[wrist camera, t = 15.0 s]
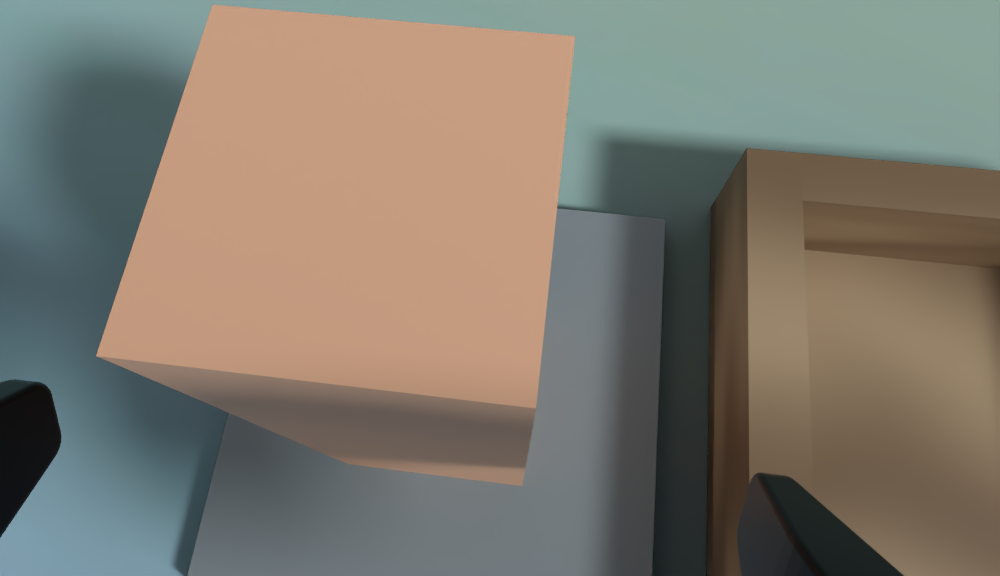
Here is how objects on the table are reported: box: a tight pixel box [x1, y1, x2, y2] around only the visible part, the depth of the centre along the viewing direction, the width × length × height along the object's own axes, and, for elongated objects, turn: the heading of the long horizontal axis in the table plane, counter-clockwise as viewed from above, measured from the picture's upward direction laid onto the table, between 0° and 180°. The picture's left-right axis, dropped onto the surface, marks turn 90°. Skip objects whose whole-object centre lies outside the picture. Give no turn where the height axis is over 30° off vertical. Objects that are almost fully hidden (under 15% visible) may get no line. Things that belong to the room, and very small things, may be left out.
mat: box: [187, 208, 665, 576], centre depth 16 cm, size 10×10×1 cm
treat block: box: [96, 5, 575, 486], centre depth 11 cm, size 4×4×10 cm
